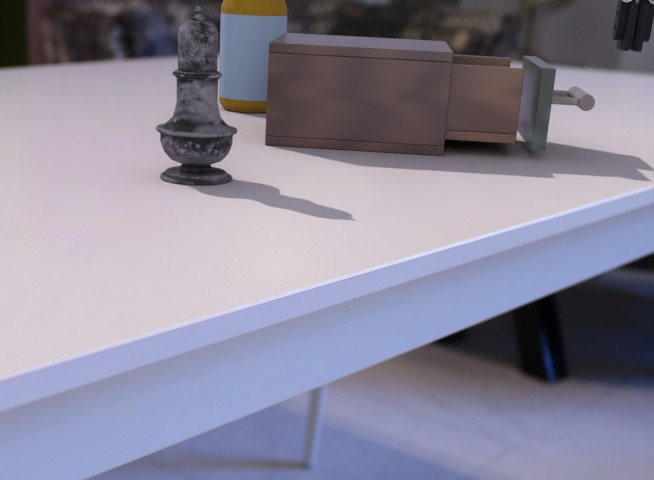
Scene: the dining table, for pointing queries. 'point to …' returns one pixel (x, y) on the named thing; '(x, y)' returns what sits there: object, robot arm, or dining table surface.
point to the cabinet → (358, 93)
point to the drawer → (505, 100)
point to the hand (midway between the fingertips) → (628, 49)
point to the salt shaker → (196, 110)
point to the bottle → (248, 51)
